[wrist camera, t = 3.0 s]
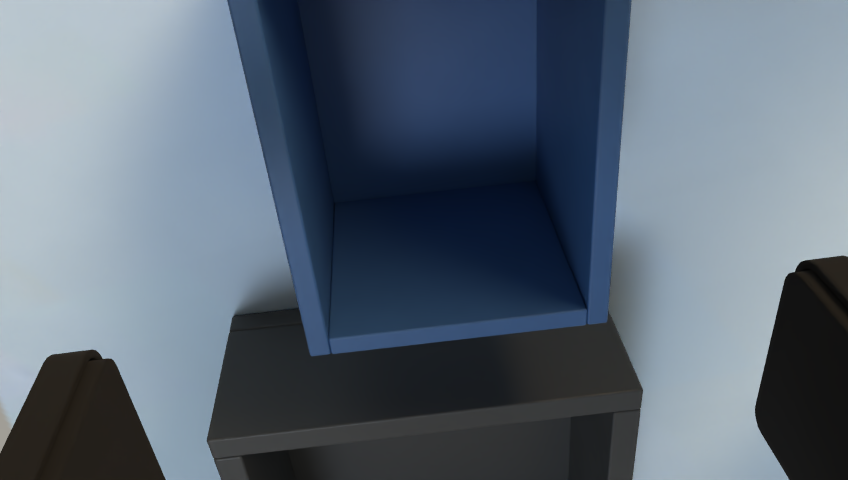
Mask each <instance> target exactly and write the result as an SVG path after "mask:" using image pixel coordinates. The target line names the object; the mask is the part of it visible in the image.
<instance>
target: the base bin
mask: <svg viewBox="0 0 848 480" xmlns="http://www.w3.org/2000/svg"><path fill="white" fill-rule="evenodd" d="M642 394H643V389H642V386H641V384H640V382H639V380H638V377H637V375H636V373H635V370H634V368H633V366H632V363H631V361H630V359H629V357H628V354H627V352H626V350H625V347H624V345H623V343H622V340H621V338H620V336H619V334H618V331H617V329H616V327H615V324H614V322H613V320H612V317H611V315H610V313H609V311H608V320H607V322H606V323H598V324H590V325H589V324H587V323H586V325H583V326H574V327H565V328H556V329H548V330H539V331H530V332H522V333H513V334H504V335H495V336H487V337H478V338H469V339H461V340H452V341H443V342H434V343H426V344H417V345H408V346H400V347H391V348H382V349H373V350H365V351H356V352H347V353H338V354H332V353H330V354H328V355H320V356H311V355H310V353H309V349H308V344H307V340H306V336H305V332H304V327H303V323H302V319H301V314H300V310H299V309H293V310H284V311H275V312H266V313H258V314H249V315H240V316H234V317H233V318H232V323H231V327H230V333H229V336H228V341H227V346H226V350H225V355H224V360H223V365H222V370H221V375H220V379H219V384H218V389H217V394H216V399H215V404H214V408H213V413H212V418H211V423H210V428H209V433H208V437H207V442H208V445H209V448H210V450H211V453H212V456H213V458H214V461H215V464H216V466H217V469H218V472H219V474H220V477H221V480H632V477H633V469H634V461H635V452H636V444H637V435H638V427H639V418H640V408H641V402H642Z"/></svg>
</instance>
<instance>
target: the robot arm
mask: <svg viewBox="0 0 848 480" xmlns="http://www.w3.org/2000/svg"><path fill="white" fill-rule="evenodd" d="M755 416H756V421H757V424H758V427H759V430H760V432H761V434H762V435H763V437H764V439H765V440H766V442H767V443H768V445H769V447H770V448H771V450H772V452H773V453H774V455H775V457H776V458H777V460H778V462H779V463H780V465H781V466H782V468H783V470H784V471H785V473H786V475H787V476H788V478H789V480H848V257H846V256H837V257H829V258H821V259H813V260H806V261H803V262H801V263H800V264H799V265H798V266H797V268H796V271H795V272H793V273H789V274H788V275H787V276H786V279H785V281H784V285H783V290H782V294H781V298H780V302H779V307H778V311H777V315H776V320H775V324H774V328H773V333H772V337H771V341H770V345H769V350H768V354H767V358H766V363H765V367H764V371H763V376H762V380H761V384H760V388H759V393H758V397H757V401H756V406H755ZM0 480H165V477H164V475H163V473H162V470H161V468H160V466H159V463H158V461H157V459H156V456H155V454H154V452H153V449H152V447H151V445H150V442H149V440H148V438H147V435H146V433H145V431H144V428H143V426H142V424H141V421H140V419H139V417H138V414H137V412H136V410H135V407H134V405H133V403H132V400H131V398H130V396H129V393H128V391H127V389H126V386H125V384H124V382H123V379H122V377H121V375H120V372H119V370H118V368H117V366H116V364H115V362H114V361H113V360H112V359H102V357H101V355H100V354H99V353H98V352H97V351H96V350H86V351H78V352H70V353H62V354H54V355H51V356H49V357H47V359H46V360H45V362H44V363H43V365H42V367H41V369H40V371H39V374H38V376H37V378H36V380H35V382H34V384H33V386H32V388H31V390H30V392H29V394H28V396H27V399H26V401H25V403H24V405H23V407H22V409H21V411H20V413H19V415H18V417H17V419H16V422H15V424H14V426H13V428H12V430H11V432H10V434H9V436H8V438H7V440H6V443H5V445H4V447H3V449H2V451H1V453H0Z"/></svg>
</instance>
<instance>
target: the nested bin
mask: <svg viewBox="0 0 848 480" xmlns="http://www.w3.org/2000/svg"><path fill="white" fill-rule="evenodd" d="M227 1H228V5H229V10H230V14H231V18H232V22H233V27H234V31H235V35H236V40H237V44H238V48H239V52H240V57H241V61H242V65H243V70H244V74H245V78H246V83H247V87H248V91H249V95H250V100H251V104H252V108H253V113H254V117H255V121H256V125H257V130H258V134H259V138H260V143H261V147H262V151H263V156H264V160H265V164H266V168H267V173H268V177H269V181H270V186H271V190H272V194H273V198H274V203H275V207H276V211H277V216H278V220H279V224H280V229H281V233H282V237H283V241H284V246H285V250H286V254H287V259H288V263H289V267H290V271H291V276H292V280H293V284H294V289H295V293H296V297H297V302H298V306H299V310H300V314H301V319H302V323H303V327H304V332H305V336H306V340H307V344H308V349H309V353H310V355H311V356H320V355H328V354H330V353H332V354H338V353H347V352H356V351H365V350H373V349H382V348H391V347H400V346H408V345H417V344H426V343H434V342H443V341H452V340H461V339H469V338H478V337H487V336H495V335H504V334H513V333H522V332H530V331H539V330H548V329H556V328H565V327H574V326H583V325H586V323H587V324H589V325H590V324H598V323H606V322H607V320H608V307H609V294H610V280H611V267H612V254H613V240H614V227H615V213H616V200H617V187H618V173H619V160H620V146H621V133H622V120H623V106H624V93H625V80H626V66H627V53H628V39H629V26H630V13H631V0H227Z"/></svg>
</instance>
